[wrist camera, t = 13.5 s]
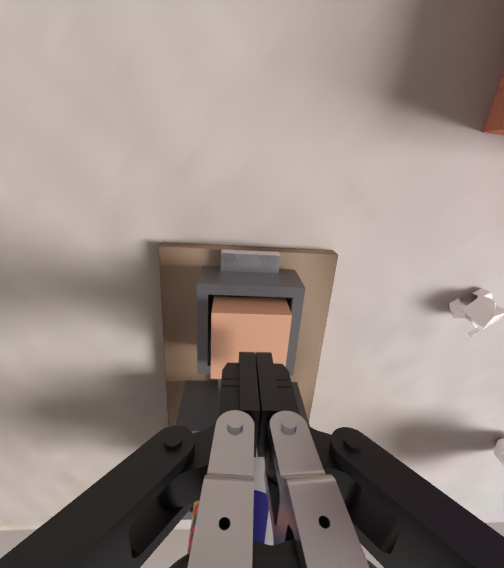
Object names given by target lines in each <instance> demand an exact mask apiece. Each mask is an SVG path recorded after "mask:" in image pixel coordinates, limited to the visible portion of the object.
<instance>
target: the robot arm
mask: <svg viewBox="0 0 504 568" xmlns="http://www.w3.org/2000/svg"><path fill="white" fill-rule="evenodd" d="M256 451H257V455H258V457H264V461H265V471H264V481H265V488H266V494H267V500H268V506H269V512H270V518H271V525H272V531H273V545H267V544H264V543H261V542H257V541H254V540H253V507H254V478H253V465H254V457H256ZM199 500H200V502H199V508H198V513H197V519H196V524H195V530H194V535H193V540H192V546H191V551H190V553H189V554H187V555H185V556H184V557H182V558H181V559H179V560H178V561H177V562H175V563H174V564H173V565H172V566H171V567H169V568H377V567H375V566H374V565H373V564H372V563H371V562H370V561H368V560H367V559H366V557H365V555H364V552H363V549H362V547H361V544H362V545H363V546H364V547H365V548H366V549H367V550H368V551H369V552H370V554H372V556H373V557H374V558H376V560H377V561H378V562H380V564H381V565H383V567H384V568H504V537H503V536H502V535H500V534H499V533H497V532H496V531H495V530H493V529H492V528H491V527H489V526H488V525H487V524H485V523H484V522H483V521H481V520H480V519H478V518H477V517H476V516H474V515H473V514H472V513H470V512H469V511H468V510H466V509H465V508H463V507H462V506H461V505H459V504H458V503H457V502H455V501H454V500H453V499H451V498H450V497H448V496H447V495H446V494H444V493H443V492H442V491H440V490H439V489H438V488H436V487H435V486H433V485H432V484H431V483H429V482H428V481H427V480H425V479H424V478H423V477H421V476H420V475H418V474H417V473H416V472H414V471H413V470H412V469H410V468H409V467H407V466H406V465H405V464H403V463H402V462H401V461H399V460H398V459H397V458H395V457H394V456H392V455H391V454H390V453H388V452H387V451H386V450H384V449H383V448H382V447H380V446H379V445H377V444H376V443H375V442H373V441H372V440H371V439H369V438H368V437H367V436H365V435H364V434H362V433H361V432H359V431H357V430H355V429H353V428H348V427H342V428H338V429H336V430H335V431H334V432H333V433H332V435H330V434H327V433H323V432H320V431H317V430H315V429H313V428H311V427H309V426H308V425H307V423H306V421H305V420H304V419H303V417H301V416H300V413H299V409H298V405H297V401H296V397H295V393H294V389H293V386H292V382H291V378H290V374H289V371H288V369H287V368H286V367H285V366H284V365H283V364H277V363H273V358H272V353H271V352H239V360H238V363H227V364H226V365H225V367H224V368H223V369H222V380H221V394H220V407H219V416H218V419H217V420H216V422H215V423H214V424H213V425H212V426H210V427H209V428H207V429H205V430H202V431H199V432H195V433H192V432H191V430H190V429H188V428H187V427H184V426H180V425H174V426H169V427H166V428H164V429H163V430H161V431H160V432H158V433H157V434H156V435H155V436H153V437H152V438H151V439H150V440H148V441H147V442H146V443H145V444H143V445H142V446H141V447H140V448H138V449H137V450H136V451H135V452H133V453H132V454H131V455H130V456H128V457H127V458H126V459H125V460H123V461H122V462H121V463H120V464H118V465H117V466H116V467H115V468H113V469H112V470H111V471H110V472H108V473H107V474H106V475H105V476H103V477H102V478H101V479H100V480H98V481H97V482H96V483H95V484H93V485H92V486H91V487H90V488H88V489H87V490H86V491H85V492H83V493H82V494H81V495H80V496H78V497H77V498H76V499H75V500H73V501H72V502H71V503H70V504H68V505H67V506H66V507H65V508H63V509H62V510H61V511H60V512H58V513H57V514H56V515H55V516H53V517H52V518H51V519H50V520H48V521H47V522H46V523H45V524H43V525H42V526H41V527H39V528H38V529H37V530H36V531H34V532H33V533H32V534H31V535H29V536H28V537H27V538H26V539H25V540H23V541H22V542H21V543H19V544H18V545H17V546H16V547H14V548H13V549H12V550H11V551H9V552H8V553H7V554H6V555H4V556H3V557H2V558H1V559H0V568H140V567H141V566H142V565H143V563H144V562H145V561H146V560H147V559H148V558H149V556H150V555H151V554H152V553H153V552H154V551H155V549H156V548H157V547H158V546H159V545H160V543H162V541H163V540H164V539H165V538H166V537H167V536H168V534H169V533H170V532H171V531H172V530H173V529H174V527H175V526H176V525H177V524H178V523H179V522H180V520H181V519H182V518H183V517H184V516H185V515H186V514H187V512H188V511H189V510H190V509H191V507H192V506H193V504H194V502H196V501H199ZM360 543H361V544H360Z"/></svg>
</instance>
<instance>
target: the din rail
mask: <svg viewBox="0 0 504 568" xmlns="http://www.w3.org/2000/svg"><path fill="white" fill-rule="evenodd" d="M279 266H280V254H279V252H267V251H246V250H225V249H222V250H221V271H237V272H261V273H279ZM220 296H226V297H253V298H276V297H261V296H233V295H220ZM221 380H222V379H218V389H221Z"/></svg>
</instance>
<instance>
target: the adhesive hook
mask: <svg viewBox="0 0 504 568" xmlns="http://www.w3.org/2000/svg"><path fill="white" fill-rule="evenodd" d="M473 294H474V295H476V296H478V297H477V299H476V300H474V301H473V302H471V303H470V304H468V305H467V306H465V305H462V304H461V302H460V300H459V298H458V299H456V300H454V301H452V302H450V303H449V306H450V311H451V313H452V315H453V318H466V319H467V320H469V321H470V322H471V323H472V324H473V326H474V327H475V328H476V329H474V330H473V331H471V332H470V333H468V334H469V335H470V336H471V337H472V336H474V335H475V334H477V333H478V332H480V331H482V330H483V329H485V328H486V327H488V326H489V325H491V324H492V323H494V322H495V321H497V320H498V319H500V318H501V317H503V316H504V309H502V308H501V307H499V306H497V305H496V302H495V301H493V300H492V299H491V298H493V296H492V294H491V292H489V291H488V290H485V289H483V288H480V289H479V290H477V291H475V292H473Z"/></svg>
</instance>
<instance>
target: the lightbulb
mask: <svg viewBox="0 0 504 568" xmlns="http://www.w3.org/2000/svg"><path fill="white" fill-rule="evenodd" d="M496 444H497V445H496V446H495V448H494V454H495V456H496V457H497V458H498V459H499V461H500V462H501V463H502V464H503V466H504V438H501V439H499V440H498V441H497V443H496Z"/></svg>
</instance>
